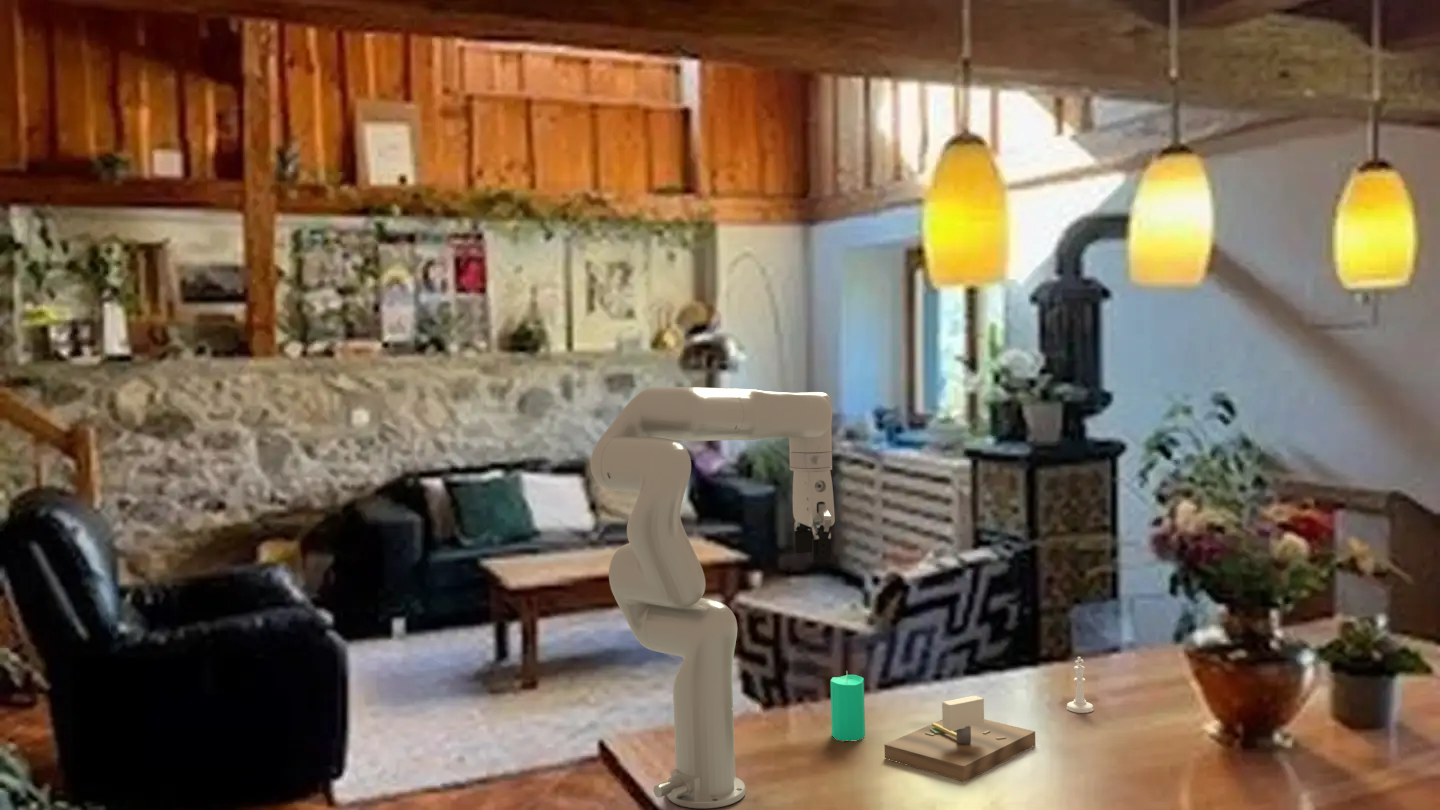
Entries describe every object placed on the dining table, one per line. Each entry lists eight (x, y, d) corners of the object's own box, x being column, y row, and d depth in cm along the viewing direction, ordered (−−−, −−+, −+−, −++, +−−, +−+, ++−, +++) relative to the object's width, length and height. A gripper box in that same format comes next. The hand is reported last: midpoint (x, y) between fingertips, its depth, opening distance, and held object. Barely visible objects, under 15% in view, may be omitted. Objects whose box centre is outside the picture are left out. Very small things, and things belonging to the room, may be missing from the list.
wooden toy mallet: (984, 740, 207) (984, 698, 207) (951, 747, 204) (950, 705, 204) (949, 723, 217) (948, 684, 216) (916, 730, 214) (916, 690, 213)
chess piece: (1060, 707, 232) (1060, 656, 232) (1081, 703, 234) (1080, 652, 234) (1078, 714, 228) (1078, 662, 227) (1099, 710, 230) (1098, 658, 229)
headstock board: (964, 781, 197) (963, 764, 196) (884, 758, 208) (884, 742, 208) (1035, 745, 212) (1035, 729, 212) (957, 726, 223) (957, 711, 223)
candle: (864, 730, 223) (863, 666, 222) (865, 742, 217) (863, 675, 216) (831, 730, 223) (830, 666, 222) (831, 741, 217) (829, 675, 217)
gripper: (847, 464, 209) (849, 563, 210) (814, 456, 226) (816, 548, 227) (806, 467, 207) (808, 566, 208) (776, 458, 224) (777, 550, 225)
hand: (812, 556), depth 217 cm, fingers open, 9 cm apart
